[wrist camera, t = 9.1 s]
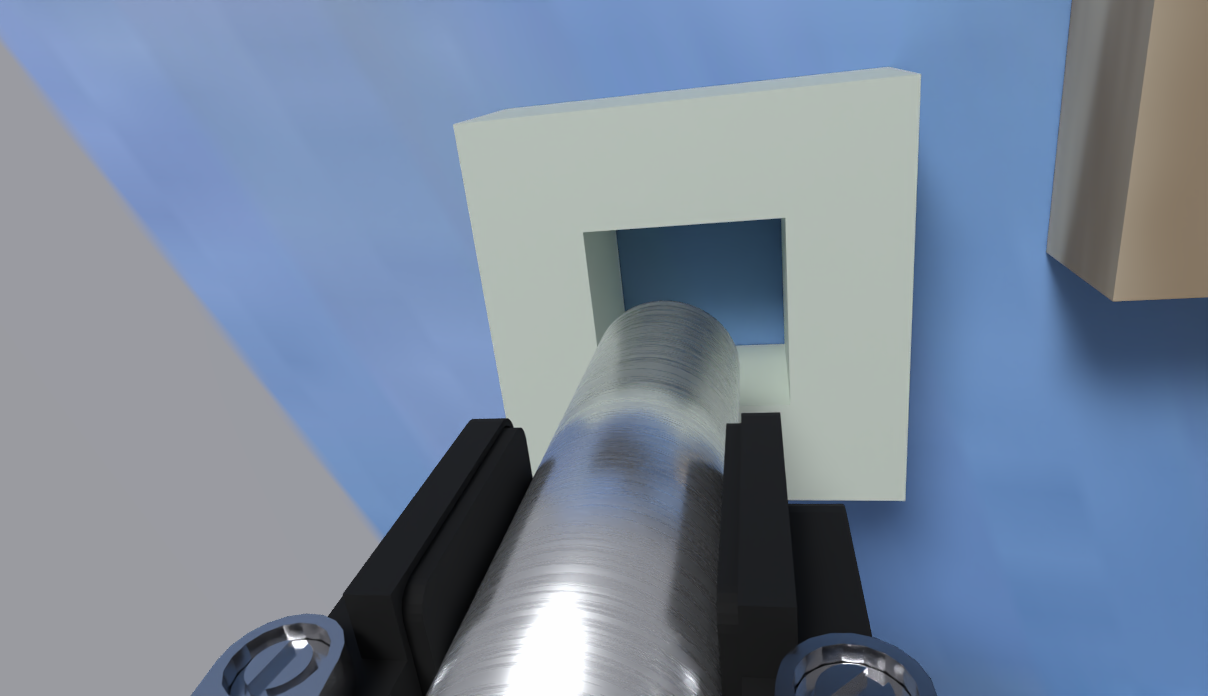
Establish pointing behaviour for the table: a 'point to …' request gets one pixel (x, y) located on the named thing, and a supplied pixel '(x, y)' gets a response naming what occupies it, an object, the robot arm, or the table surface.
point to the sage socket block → (712, 195)
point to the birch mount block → (1134, 149)
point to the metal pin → (615, 529)
